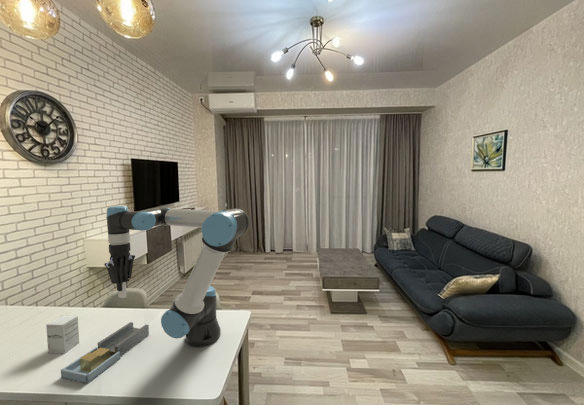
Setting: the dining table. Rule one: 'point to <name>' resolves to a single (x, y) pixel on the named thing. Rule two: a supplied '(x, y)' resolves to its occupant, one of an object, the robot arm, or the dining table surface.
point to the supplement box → (62, 334)
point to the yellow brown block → (89, 362)
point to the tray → (84, 376)
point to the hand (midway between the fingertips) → (122, 297)
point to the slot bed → (124, 339)
